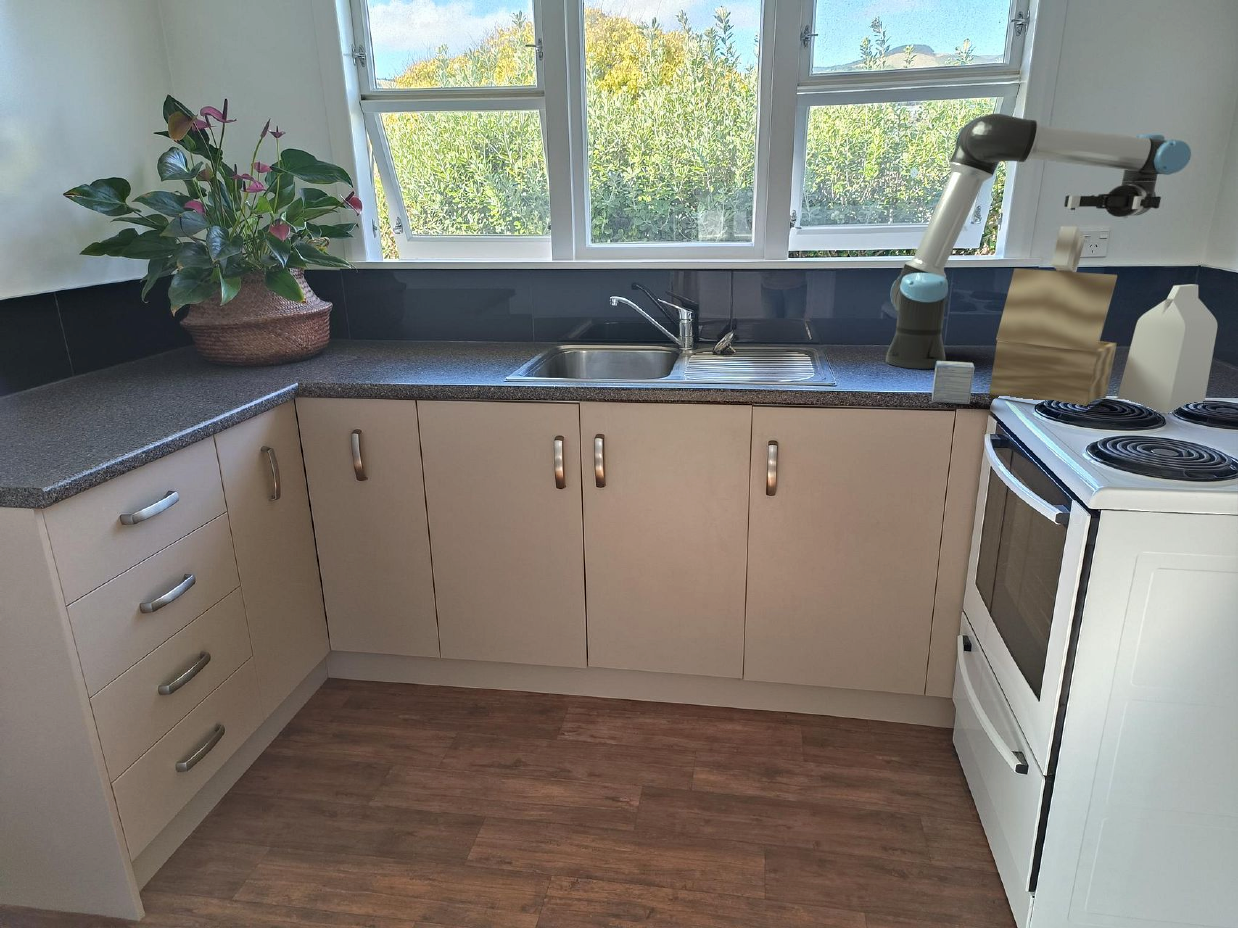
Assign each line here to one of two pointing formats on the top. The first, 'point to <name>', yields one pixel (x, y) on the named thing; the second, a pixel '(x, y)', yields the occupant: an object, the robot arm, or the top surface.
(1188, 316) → the milk
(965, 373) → the grey wooden block
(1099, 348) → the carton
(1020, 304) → the lid
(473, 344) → the top surface
